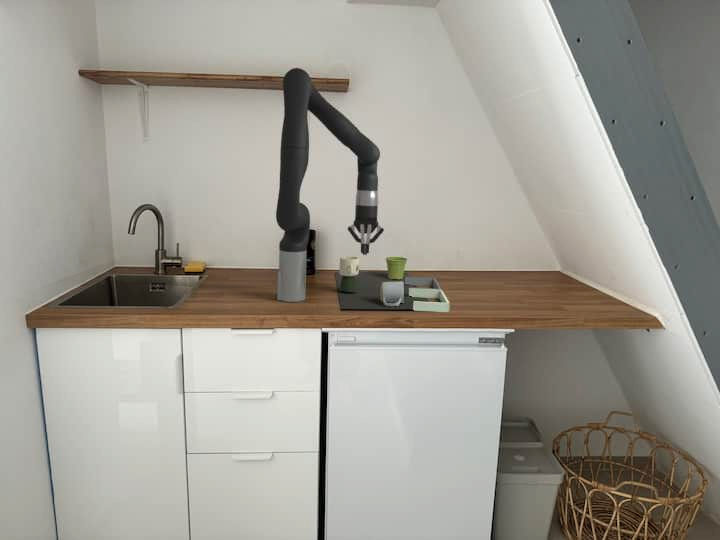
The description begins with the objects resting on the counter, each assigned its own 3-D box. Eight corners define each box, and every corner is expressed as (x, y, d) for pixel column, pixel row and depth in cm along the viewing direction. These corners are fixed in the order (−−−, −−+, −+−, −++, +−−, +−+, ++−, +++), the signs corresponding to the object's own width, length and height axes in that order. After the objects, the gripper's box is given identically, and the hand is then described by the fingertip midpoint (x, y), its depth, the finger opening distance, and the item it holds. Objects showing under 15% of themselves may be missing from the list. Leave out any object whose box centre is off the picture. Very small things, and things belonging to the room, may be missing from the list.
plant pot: (381, 279, 221) (382, 259, 219) (387, 275, 229) (388, 255, 228) (403, 281, 218) (404, 261, 216) (408, 277, 227) (409, 257, 225)
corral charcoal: (408, 295, 194) (409, 288, 194) (404, 284, 214) (405, 277, 213) (441, 297, 194) (441, 289, 194) (434, 285, 213) (434, 278, 213)
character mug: (360, 295, 192) (361, 260, 189) (340, 295, 190) (341, 260, 188) (355, 288, 202) (356, 255, 200) (336, 288, 201) (338, 255, 198)
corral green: (413, 310, 175) (413, 301, 174) (408, 296, 194) (409, 288, 193) (449, 312, 175) (449, 303, 174) (441, 297, 194) (441, 289, 193)
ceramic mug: (379, 299, 188) (380, 278, 186) (402, 300, 188) (404, 279, 186) (379, 307, 178) (380, 285, 176) (404, 308, 177) (405, 286, 176)
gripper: (346, 203, 174) (345, 255, 178) (386, 205, 174) (384, 257, 177) (347, 202, 182) (346, 252, 185) (385, 203, 181) (383, 253, 185)
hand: (364, 254), depth 181 cm, fingers closed
